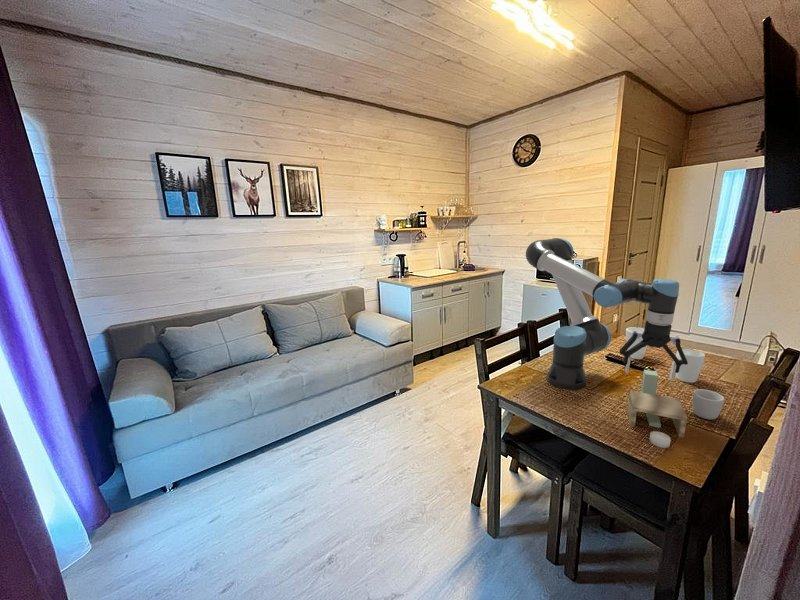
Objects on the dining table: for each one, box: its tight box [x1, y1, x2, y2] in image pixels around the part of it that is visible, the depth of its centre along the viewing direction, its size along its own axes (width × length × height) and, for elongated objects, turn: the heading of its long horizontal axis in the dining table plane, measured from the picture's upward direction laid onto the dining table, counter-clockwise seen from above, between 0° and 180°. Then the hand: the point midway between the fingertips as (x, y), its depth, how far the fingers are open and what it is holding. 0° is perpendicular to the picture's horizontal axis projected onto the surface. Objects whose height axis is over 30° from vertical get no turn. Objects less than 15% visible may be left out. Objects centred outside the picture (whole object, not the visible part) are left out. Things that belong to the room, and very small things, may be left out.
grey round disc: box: [649, 430, 671, 449], centre depth 104 cm, size 5×5×2 cm
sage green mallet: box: [640, 369, 662, 429], centre depth 119 cm, size 4×21×11 cm, turn 151°
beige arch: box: [626, 389, 688, 438], centre depth 114 cm, size 14×12×7 cm
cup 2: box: [675, 348, 706, 384], centre depth 140 cm, size 9×9×12 cm
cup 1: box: [625, 326, 649, 360], centre depth 162 cm, size 10×10×14 cm
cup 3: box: [692, 388, 725, 421], centre depth 117 cm, size 11×8×8 cm
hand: (648, 375), depth 126 cm, fingers open, 13 cm apart
